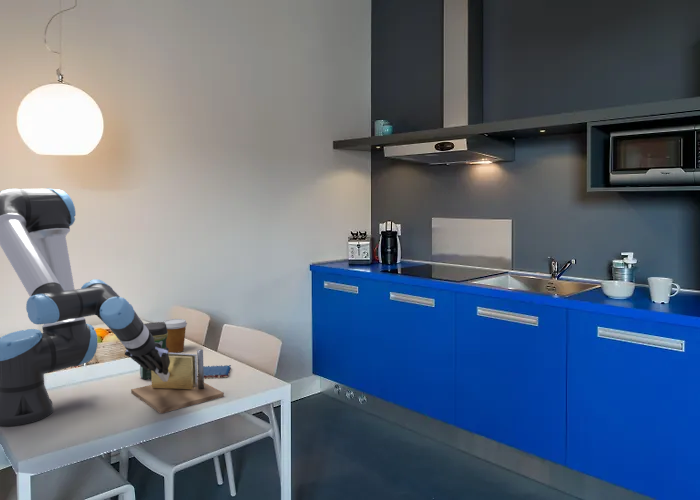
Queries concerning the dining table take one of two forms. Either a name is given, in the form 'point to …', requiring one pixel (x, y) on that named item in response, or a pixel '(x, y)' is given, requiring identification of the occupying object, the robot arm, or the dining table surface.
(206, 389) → the walnut board
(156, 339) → the coffee jar
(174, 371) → the panel
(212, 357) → the dining table surface
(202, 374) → the steel leaf and pin
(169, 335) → the disposable coffee cup
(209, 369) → the woven mat
